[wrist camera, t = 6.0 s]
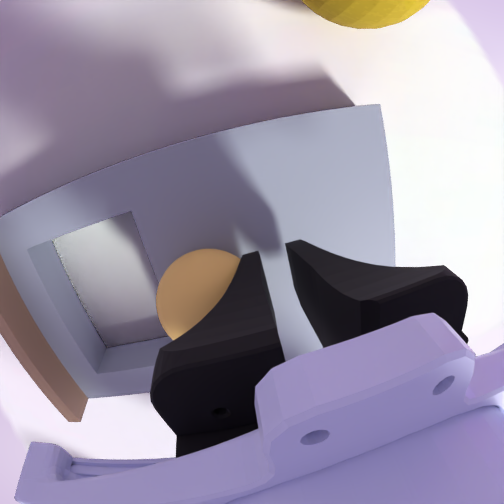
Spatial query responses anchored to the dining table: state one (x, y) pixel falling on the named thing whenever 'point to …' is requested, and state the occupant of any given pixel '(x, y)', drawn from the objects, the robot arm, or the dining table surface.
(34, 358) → the grey piece
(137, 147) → the dining table surface
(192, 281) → the ball
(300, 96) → the dining table surface
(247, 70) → the dining table surface
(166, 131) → the dining table surface
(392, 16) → the lemon
